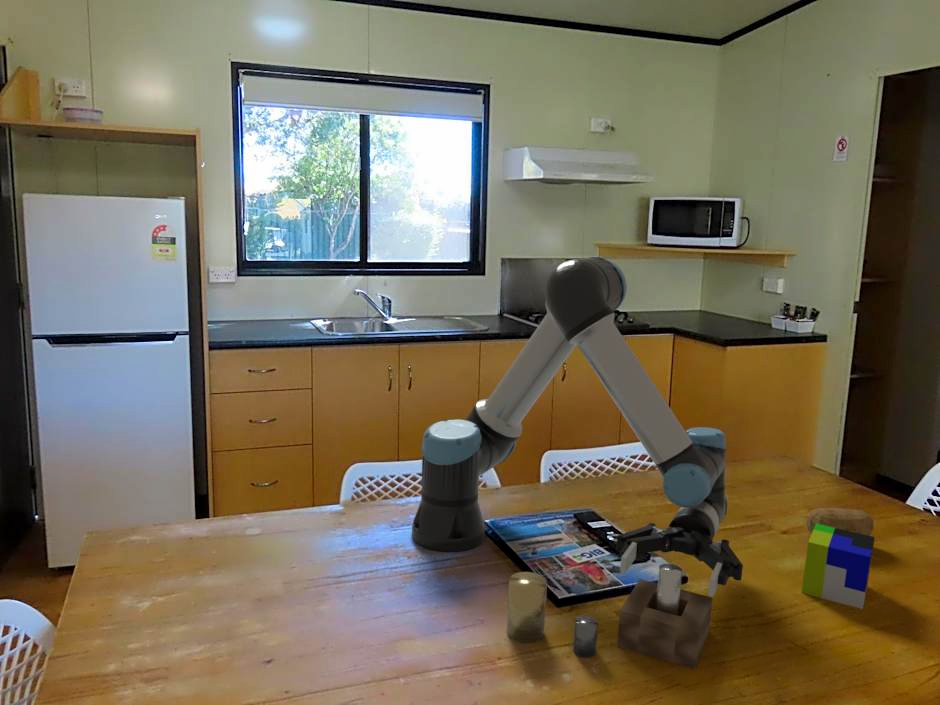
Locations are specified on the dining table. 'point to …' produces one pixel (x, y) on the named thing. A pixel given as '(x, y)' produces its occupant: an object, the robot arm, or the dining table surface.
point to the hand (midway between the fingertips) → (666, 576)
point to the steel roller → (669, 588)
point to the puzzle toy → (838, 565)
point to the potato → (841, 520)
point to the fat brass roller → (526, 607)
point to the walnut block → (665, 625)
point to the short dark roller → (585, 636)
